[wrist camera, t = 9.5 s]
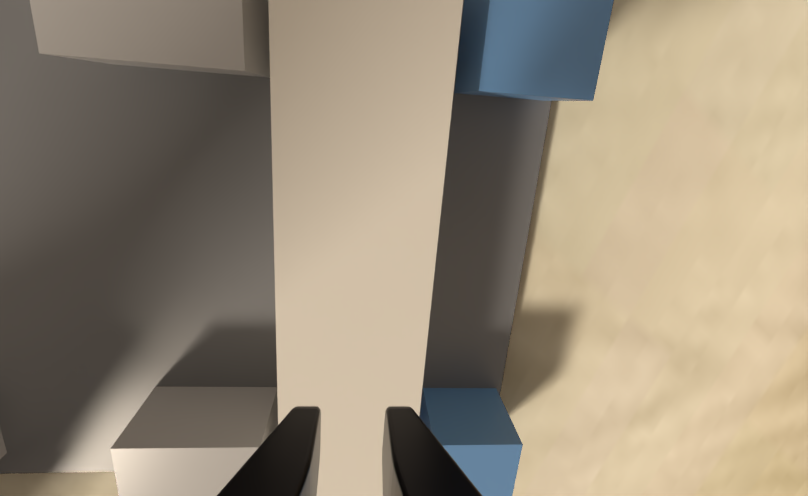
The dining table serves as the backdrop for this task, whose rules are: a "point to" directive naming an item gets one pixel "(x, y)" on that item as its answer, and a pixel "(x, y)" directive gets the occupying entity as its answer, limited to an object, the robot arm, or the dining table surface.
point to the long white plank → (357, 213)
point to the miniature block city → (232, 233)
